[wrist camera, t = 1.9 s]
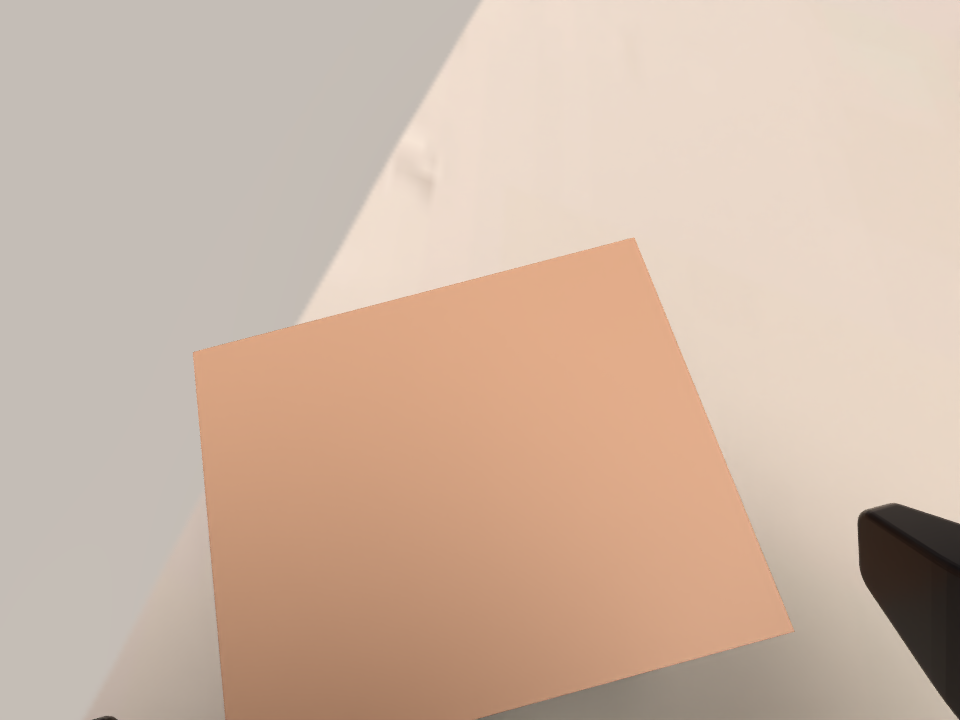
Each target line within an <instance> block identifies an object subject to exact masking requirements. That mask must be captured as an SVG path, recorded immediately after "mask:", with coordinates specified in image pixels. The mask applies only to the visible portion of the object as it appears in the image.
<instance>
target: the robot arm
mask: <svg viewBox="0 0 960 720" xmlns="http://www.w3.org/2000/svg"><path fill="white" fill-rule="evenodd" d="M858 546H859V566H860V571H861V575H862V578H863V580H864V582H865V584H866V586H867V588H868V589H869V591H870V592H871V594H872V595H873V597H874V598H875V600H876V601H877V603H878V604H879V606H880V607H881V609H882V610H883V612H884V613H885V615H886V616H887V618H888V619H889V620H890V622H891V623H892V625H893V626H894V628H895V629H896V631H897V632H898V634H899V635H900V637H901V638H902V640H903V641H904V643H905V644H906V646H907V647H908V649H909V650H910V652H911V653H912V655H913V656H914V658H915V659H916V661H917V662H918V663H919V665H920V666H921V668H922V669H923V671H924V672H925V674H926V675H927V677H928V678H929V680H930V681H931V683H932V684H933V686H934V687H935V688H936V690H937V691H938V693H939V694H940V695H941V697H942V698H943V700H944V701H945V702H946V704H947V705H948V706H949V707H950V709H951V710H952V711H953V712H954V714H955V715H956V716H957V718H958V719H959V720H960V524H959V523H956V522H953V521H950V520H947V519H944V518H941V517H937V516H934V515H931V514H928V513H925V512H922V511H919V510H916V509H913V508H910V507H907V506H904V505H900V504H896V503H890V504H886V505H882V506H878V507H874V508H871V509H867V510H864V511H863V512H862V513H860V515H859V517H858ZM93 720H117V719H116V718H114V717H112V716H104V717H101V718H97V719H93Z"/></svg>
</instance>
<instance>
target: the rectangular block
mask: <svg viewBox="0 0 960 720" xmlns="http://www.w3.org/2000/svg"><path fill="white" fill-rule="evenodd" d="M193 359H194V369H195V381H196V393H197V404H198V415H199V426H200V437H201V449H202V460H203V471H204V483H205V494H206V505H207V517H208V528H209V539H210V550H211V562H212V573H213V584H214V595H215V607H216V618H217V629H218V641H219V652H220V663H221V674H222V686H223V697H224V708H225V719H226V720H475V719H479V718H482V717H486V716H490V715H493V714H497V713H500V712H504V711H508V710H511V709H515V708H519V707H522V706H526V705H530V704H533V703H537V702H540V701H544V700H548V699H551V698H555V697H559V696H562V695H566V694H569V693H573V692H577V691H580V690H584V689H588V688H591V687H595V686H599V685H602V684H606V683H609V682H613V681H617V680H620V679H624V678H628V677H631V676H635V675H639V674H642V673H646V672H649V671H653V670H657V669H660V668H664V667H668V666H671V665H675V664H678V663H682V662H686V661H689V660H693V659H697V658H700V657H704V656H708V655H711V654H715V653H718V652H722V651H726V650H729V649H733V648H737V647H740V646H744V645H748V644H751V643H755V642H758V641H762V640H766V639H769V638H773V637H777V636H780V635H784V634H788V633H791V632H795V631H794V629H793V626H792V624H791V622H790V619H789V617H788V614H787V612H786V609H785V607H784V604H783V602H782V599H781V597H780V594H779V592H778V590H777V587H776V585H775V582H774V580H773V577H772V575H771V572H770V570H769V567H768V565H767V563H766V560H765V558H764V555H763V553H762V550H761V548H760V545H759V543H758V540H757V538H756V535H755V533H754V531H753V528H752V526H751V523H750V521H749V518H748V516H747V513H746V511H745V508H744V506H743V504H742V501H741V499H740V496H739V494H738V491H737V489H736V486H735V484H734V481H733V479H732V477H731V474H730V472H729V469H728V467H727V464H726V462H725V459H724V457H723V454H722V452H721V449H720V447H719V445H718V442H717V440H716V437H715V435H714V432H713V430H712V427H711V425H710V422H709V420H708V418H707V415H706V413H705V410H704V408H703V405H702V403H701V400H700V398H699V395H698V393H697V391H696V388H695V386H694V383H693V381H692V378H691V376H690V373H689V371H688V368H687V366H686V363H685V361H684V359H683V356H682V354H681V351H680V349H679V346H678V344H677V341H676V339H675V336H674V334H673V332H672V329H671V327H670V324H669V322H668V319H667V317H666V314H665V312H664V309H663V307H662V305H661V302H660V300H659V297H658V295H657V292H656V290H655V287H654V285H653V282H652V280H651V277H650V275H649V273H648V270H647V268H646V265H645V263H644V260H643V258H642V255H641V253H640V250H639V248H638V246H637V243H636V241H635V238H630V239H626V240H623V241H619V242H615V243H611V244H607V245H603V246H599V247H596V248H592V249H588V250H584V251H580V252H576V253H572V254H569V255H565V256H561V257H557V258H553V259H549V260H546V261H542V262H538V263H534V264H530V265H526V266H522V267H519V268H515V269H511V270H507V271H503V272H499V273H495V274H492V275H488V276H484V277H480V278H476V279H472V280H469V281H465V282H461V283H457V284H453V285H449V286H445V287H442V288H438V289H434V290H430V291H426V292H422V293H419V294H415V295H411V296H407V297H403V298H399V299H395V300H392V301H388V302H384V303H380V304H376V305H372V306H368V307H365V308H361V309H357V310H353V311H349V312H345V313H342V314H338V315H334V316H330V317H326V318H322V319H318V320H315V321H311V322H307V323H303V324H299V325H295V326H291V327H288V328H284V329H280V330H276V331H272V332H268V333H265V334H261V335H257V336H253V337H249V338H245V339H242V340H238V341H234V342H230V343H226V344H222V345H218V346H215V347H211V348H207V349H203V350H199V351H196V352H193Z"/></svg>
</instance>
